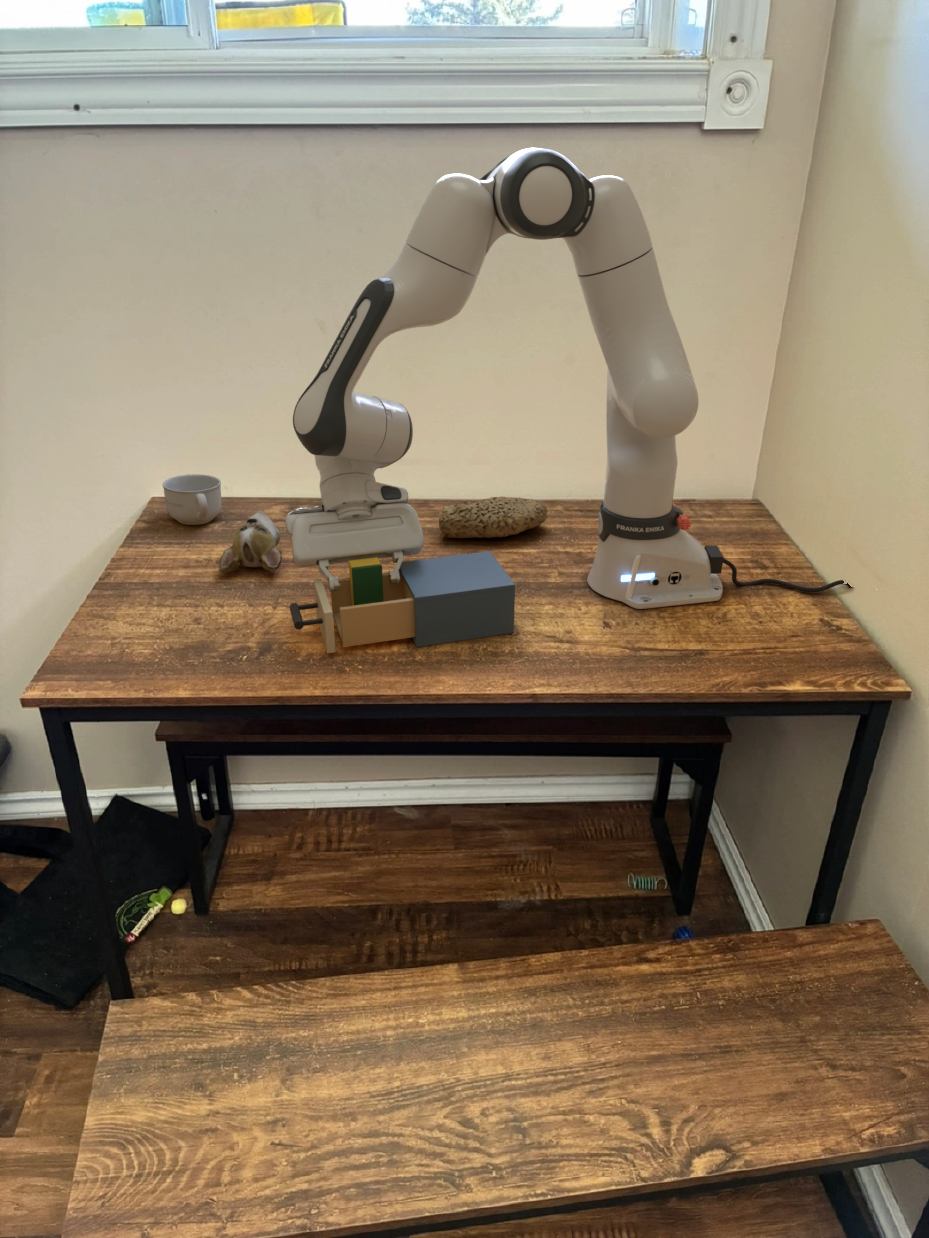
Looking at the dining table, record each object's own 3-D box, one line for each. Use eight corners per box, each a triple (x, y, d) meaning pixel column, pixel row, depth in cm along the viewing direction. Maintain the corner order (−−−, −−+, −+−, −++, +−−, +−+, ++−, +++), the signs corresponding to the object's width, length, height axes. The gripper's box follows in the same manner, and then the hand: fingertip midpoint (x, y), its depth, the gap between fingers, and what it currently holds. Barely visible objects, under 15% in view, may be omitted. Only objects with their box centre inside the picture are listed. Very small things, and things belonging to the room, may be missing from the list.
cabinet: (416, 647, 132) (415, 597, 128) (398, 609, 142) (396, 562, 138) (513, 633, 136) (515, 584, 131) (489, 597, 146) (490, 551, 142)
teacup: (168, 512, 177) (162, 474, 174) (223, 506, 180) (218, 469, 176) (169, 539, 166) (162, 499, 162) (228, 532, 169) (223, 493, 165)
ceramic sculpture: (288, 501, 159) (273, 540, 146) (293, 544, 164) (280, 585, 151) (229, 502, 159) (209, 540, 146) (236, 544, 164) (217, 585, 151)
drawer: (298, 657, 128) (294, 617, 124) (289, 621, 137) (285, 582, 134) (423, 639, 132) (422, 600, 129) (406, 605, 142) (405, 567, 138)
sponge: (441, 551, 164) (547, 536, 161) (433, 511, 162) (541, 494, 158) (452, 536, 177) (551, 521, 173) (445, 497, 174) (544, 481, 171)
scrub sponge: (380, 608, 138) (377, 557, 134) (384, 618, 136) (382, 565, 131) (351, 612, 137) (348, 560, 133) (355, 622, 134) (352, 569, 130)
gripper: (283, 500, 131) (296, 587, 128) (416, 488, 136) (433, 571, 133) (283, 517, 137) (295, 601, 134) (411, 504, 142) (426, 585, 139)
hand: (365, 586), depth 133 cm, fingers open, 8 cm apart
